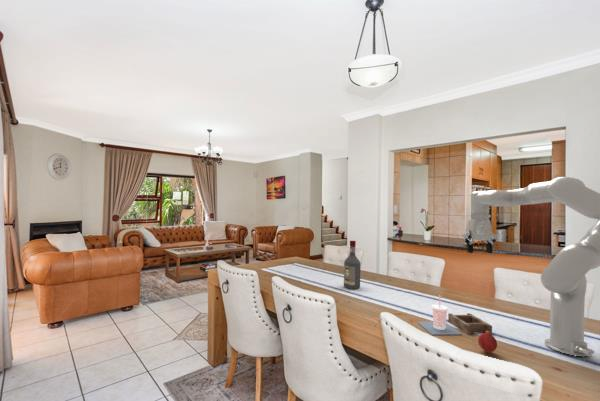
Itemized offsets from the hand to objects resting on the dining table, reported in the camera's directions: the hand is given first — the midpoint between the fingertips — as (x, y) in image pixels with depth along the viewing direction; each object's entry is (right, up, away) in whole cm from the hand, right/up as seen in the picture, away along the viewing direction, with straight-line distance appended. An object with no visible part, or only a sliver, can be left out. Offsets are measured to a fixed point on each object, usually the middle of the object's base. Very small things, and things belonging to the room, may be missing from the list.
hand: (479, 252), depth 138 cm
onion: (-18, -31, -33) cm, 48 cm away
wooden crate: (-11, -31, -10) cm, 35 cm away
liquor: (-52, -32, +49) cm, 78 cm away
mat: (-26, -31, -12) cm, 42 cm away
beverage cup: (-25, -31, -12) cm, 41 cm away
